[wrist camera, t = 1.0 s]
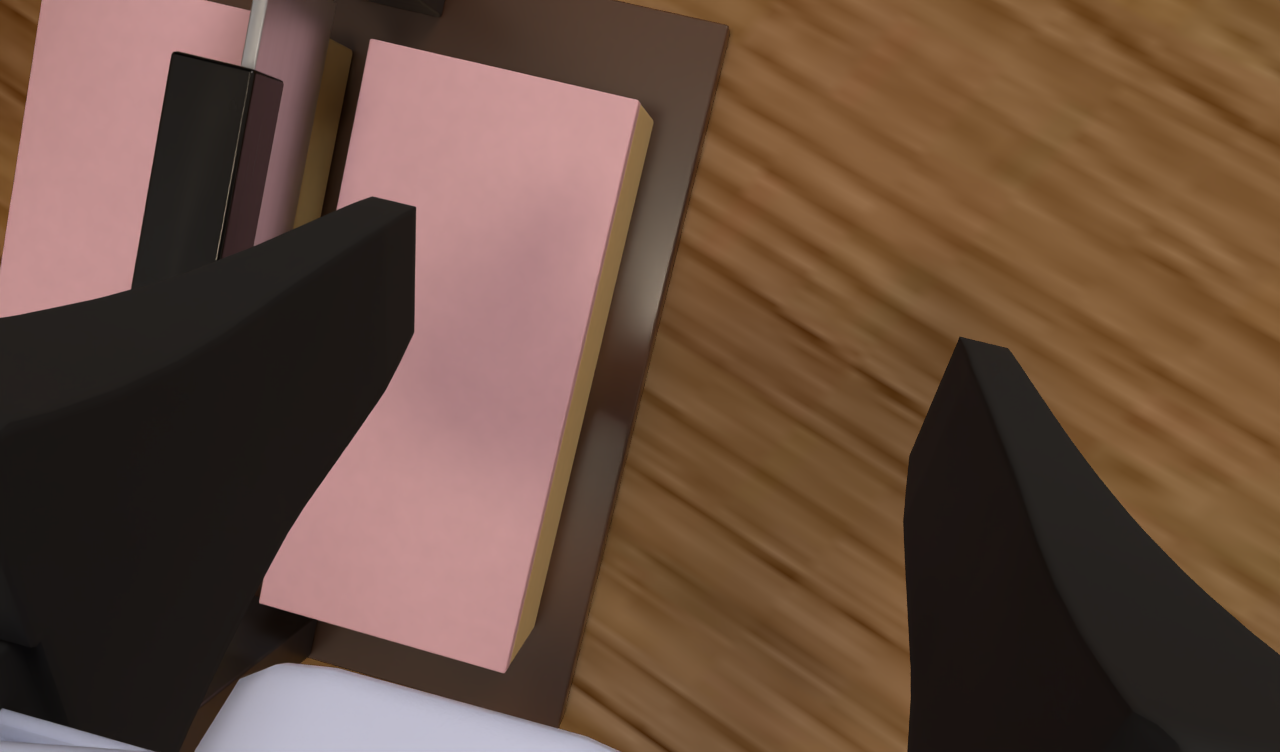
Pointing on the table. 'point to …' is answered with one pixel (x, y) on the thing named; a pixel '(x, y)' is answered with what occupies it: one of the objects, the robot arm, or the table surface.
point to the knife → (234, 142)
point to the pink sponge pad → (444, 297)
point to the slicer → (680, 108)
